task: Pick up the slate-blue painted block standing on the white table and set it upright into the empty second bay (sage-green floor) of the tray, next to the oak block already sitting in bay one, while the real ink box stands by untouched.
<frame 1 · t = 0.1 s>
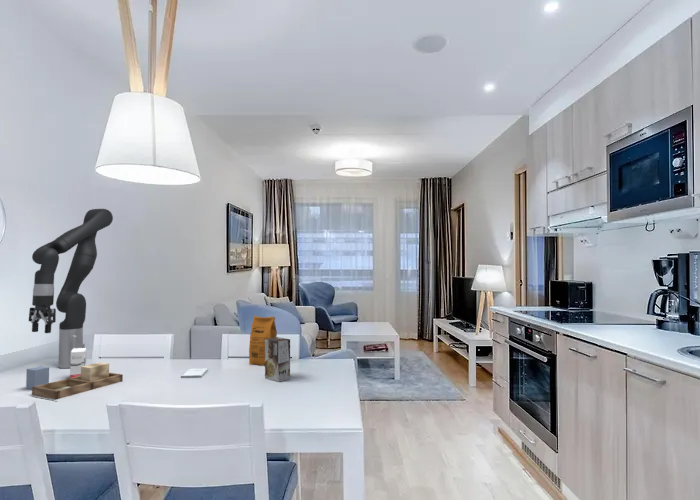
hand: (41, 332, 192), 17 cm above the table, tool pointing down, fingers open, 8 cm apart
tray: (79, 389, 166), on the table
coffee package: (262, 363, 210), on the table
external hard drive: (194, 376, 189), on the table
ink box: (78, 379, 182), on the table
coffee box: (277, 379, 182), on the table
oak block: (94, 383, 171), point 1 cm above the table, touching tray
slate block: (37, 390, 165), on the table
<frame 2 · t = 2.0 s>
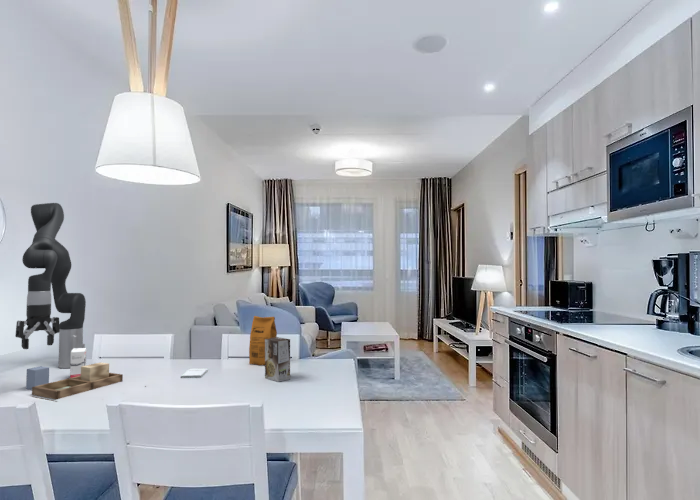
hand: (37, 347, 166), 16 cm above the table, tool pointing down, fingers open, 8 cm apart
nothing on the table moved.
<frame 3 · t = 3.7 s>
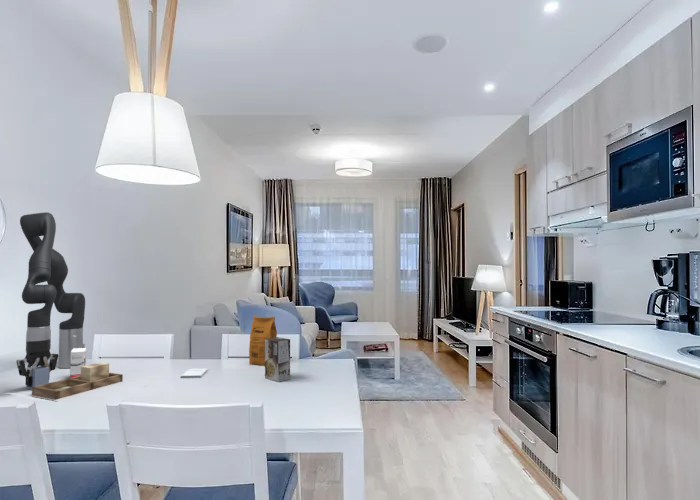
hand: (37, 384, 165), 2 cm above the table, tool pointing down, fingers closed on slate block, 5 cm apart
slate block: (37, 389, 165), on the table, touching gripper
everything else where it was.
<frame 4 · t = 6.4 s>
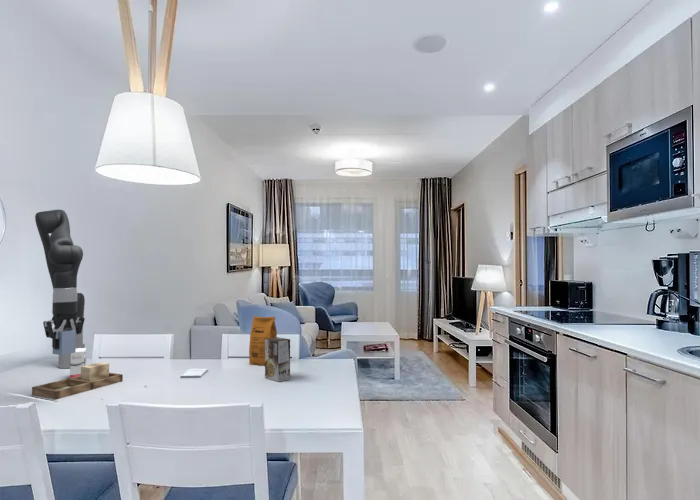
hand: (64, 347, 161), 16 cm above the table, tool pointing down, fingers closed on slate block, 5 cm apart
slate block: (64, 353, 161), point 15 cm above the table, touching gripper
everything else where it was.
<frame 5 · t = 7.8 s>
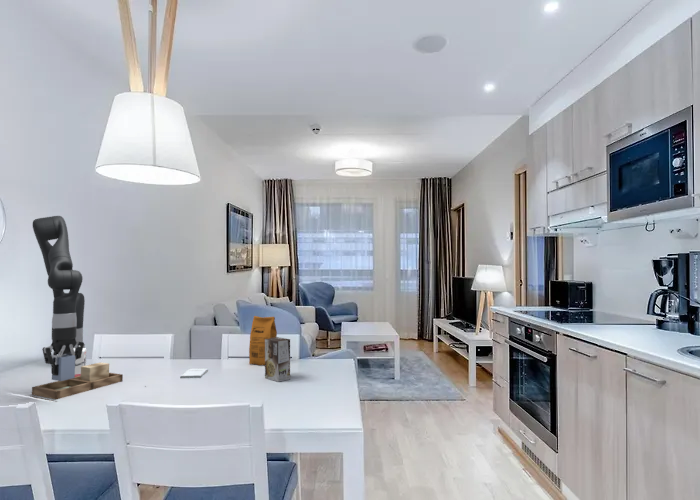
hand: (63, 373, 160), 7 cm above the table, tool pointing down, fingers closed on slate block, 5 cm apart
slate block: (63, 378, 160), point 5 cm above the table, touching gripper
everything else where it was.
when the fingers open (4 cm above the table, at t = 9.1 s): slate block stays where it is, resting on tray.
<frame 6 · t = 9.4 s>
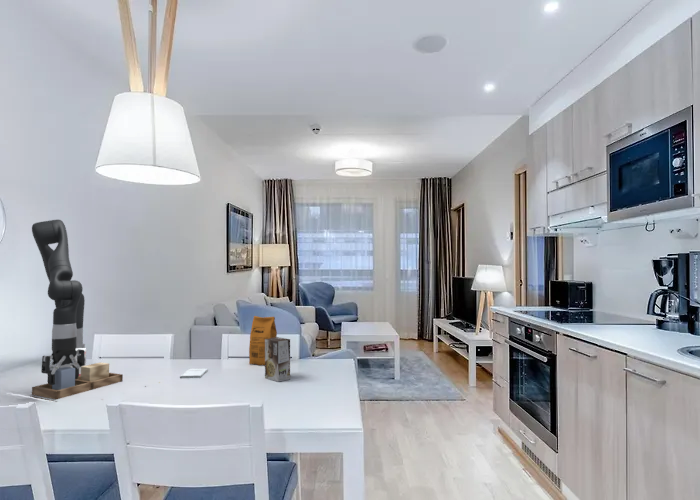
hand: (63, 381, 160), 4 cm above the table, tool pointing down, fingers open, 8 cm apart
slate block: (63, 391, 160), point 1 cm above the table, touching tray
everything else where it was.
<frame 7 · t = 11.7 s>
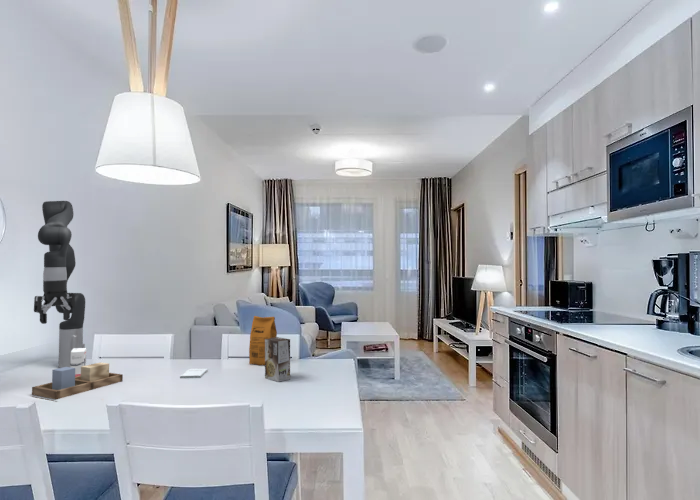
hand: (55, 321, 170), 25 cm above the table, tool pointing down, fingers open, 8 cm apart
nothing on the table moved.
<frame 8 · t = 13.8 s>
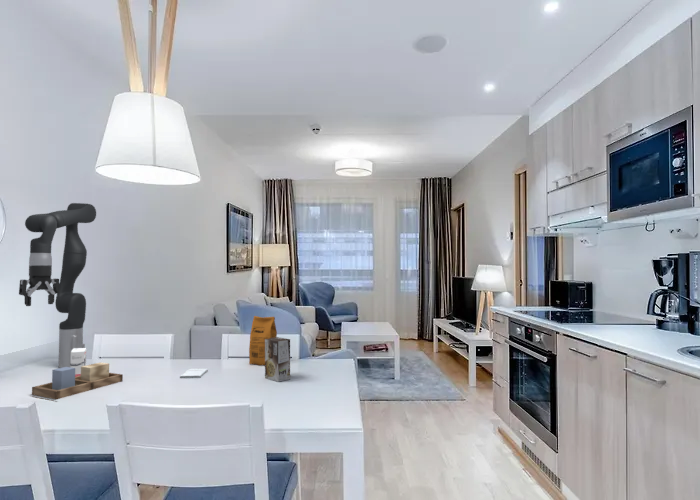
hand: (39, 305, 179), 30 cm above the table, tool pointing down, fingers open, 8 cm apart
nothing on the table moved.
at the end: slate block inside the target area on the tray (0.1 cm from its centre), point 0.9 cm above the tray's base; slate block tilted 0°; the gripper is holding nothing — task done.
